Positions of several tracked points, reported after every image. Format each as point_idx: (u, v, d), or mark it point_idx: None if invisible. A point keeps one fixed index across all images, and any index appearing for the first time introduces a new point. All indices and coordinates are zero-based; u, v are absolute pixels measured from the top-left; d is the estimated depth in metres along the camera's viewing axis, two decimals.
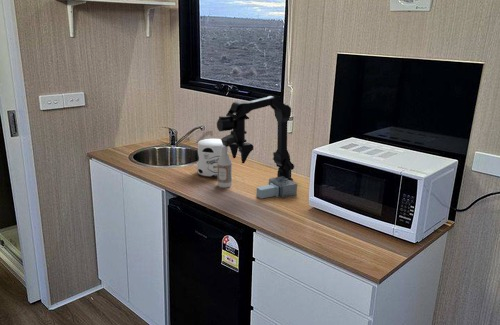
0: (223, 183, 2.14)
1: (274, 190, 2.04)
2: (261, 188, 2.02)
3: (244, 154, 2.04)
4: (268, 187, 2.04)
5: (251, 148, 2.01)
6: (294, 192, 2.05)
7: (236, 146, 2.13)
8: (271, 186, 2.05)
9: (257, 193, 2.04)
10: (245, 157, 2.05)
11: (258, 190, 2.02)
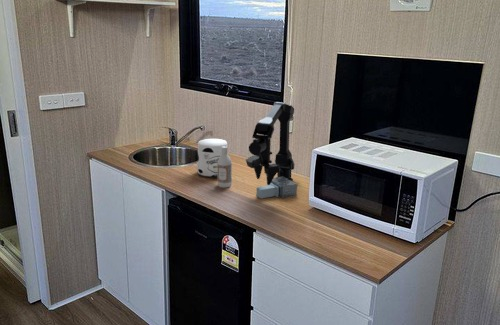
0: (223, 183, 2.14)
1: (274, 190, 2.04)
2: (261, 188, 2.02)
3: (269, 176, 1.96)
4: (268, 187, 2.04)
5: (277, 170, 1.93)
6: (294, 192, 2.05)
7: (260, 166, 2.05)
8: (271, 186, 2.05)
9: (257, 193, 2.04)
10: (271, 179, 1.97)
11: (258, 190, 2.02)
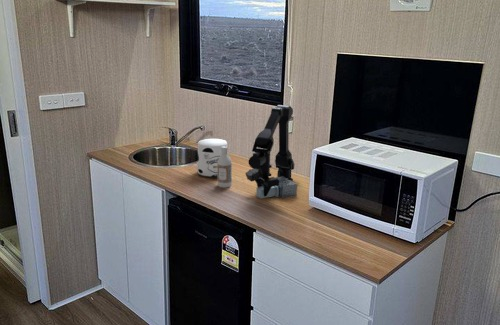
0: (223, 183, 2.14)
1: (274, 190, 2.04)
2: (261, 188, 2.02)
3: (266, 187, 2.00)
4: None
5: (277, 183, 1.95)
6: (294, 192, 2.05)
7: (262, 181, 2.05)
8: None
9: (257, 193, 2.04)
10: (267, 190, 2.01)
11: (258, 190, 2.02)
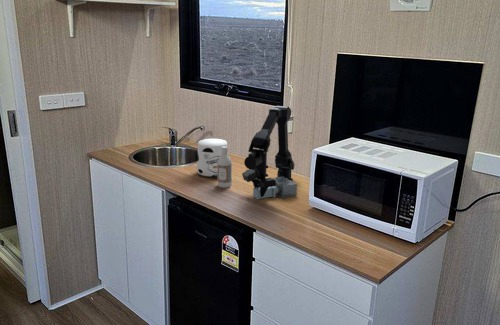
0: (223, 183, 2.14)
1: (271, 191, 2.03)
2: (257, 189, 2.01)
3: (263, 188, 1.99)
4: None
5: (274, 184, 1.94)
6: (294, 192, 2.05)
7: (259, 181, 2.04)
8: (268, 187, 2.04)
9: (254, 194, 2.03)
10: (264, 191, 2.00)
11: (255, 191, 2.01)
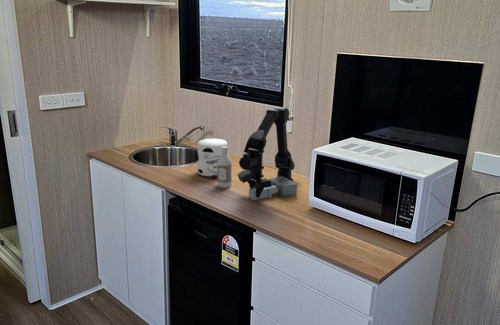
0: (223, 183, 2.14)
1: (267, 191, 2.02)
2: (253, 189, 2.00)
3: (258, 188, 1.98)
4: None
5: (269, 185, 1.93)
6: (294, 192, 2.05)
7: (255, 182, 2.03)
8: None
9: (249, 194, 2.02)
10: (260, 191, 1.99)
11: (250, 191, 2.00)
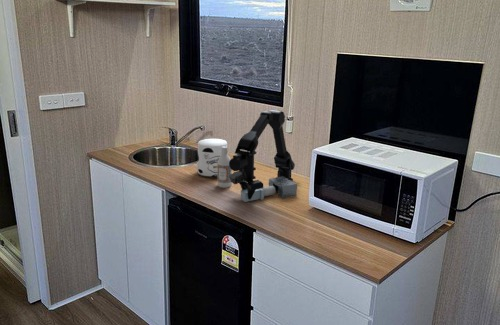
0: (223, 183, 2.14)
1: (259, 193, 2.00)
2: (245, 191, 1.98)
3: (250, 190, 1.96)
4: None
5: (261, 186, 1.91)
6: (294, 192, 2.05)
7: (247, 183, 2.01)
8: (256, 189, 2.01)
9: (241, 196, 2.00)
10: (252, 193, 1.97)
11: (242, 193, 1.98)
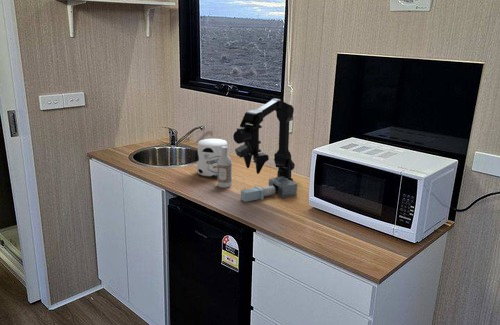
0: (223, 183, 2.14)
1: (259, 193, 2.00)
2: (245, 191, 1.98)
3: (259, 164, 1.99)
4: (252, 190, 2.00)
5: (266, 158, 1.96)
6: (294, 192, 2.05)
7: (250, 156, 2.08)
8: (256, 189, 2.01)
9: (241, 196, 2.00)
10: (260, 167, 2.00)
11: (242, 193, 1.98)
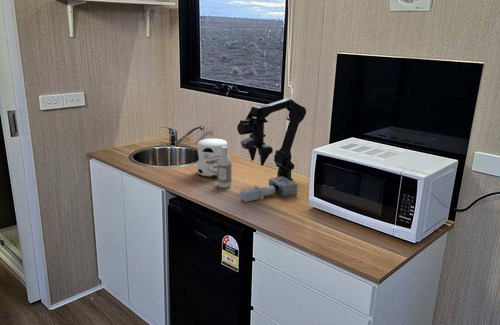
0: (223, 183, 2.14)
1: (259, 193, 2.00)
2: (245, 191, 1.98)
3: (263, 156, 2.08)
4: (252, 190, 2.00)
5: (270, 151, 2.05)
6: (294, 192, 2.05)
7: (254, 149, 2.18)
8: (256, 189, 2.01)
9: (241, 196, 2.00)
10: (264, 160, 2.09)
11: (242, 193, 1.98)
